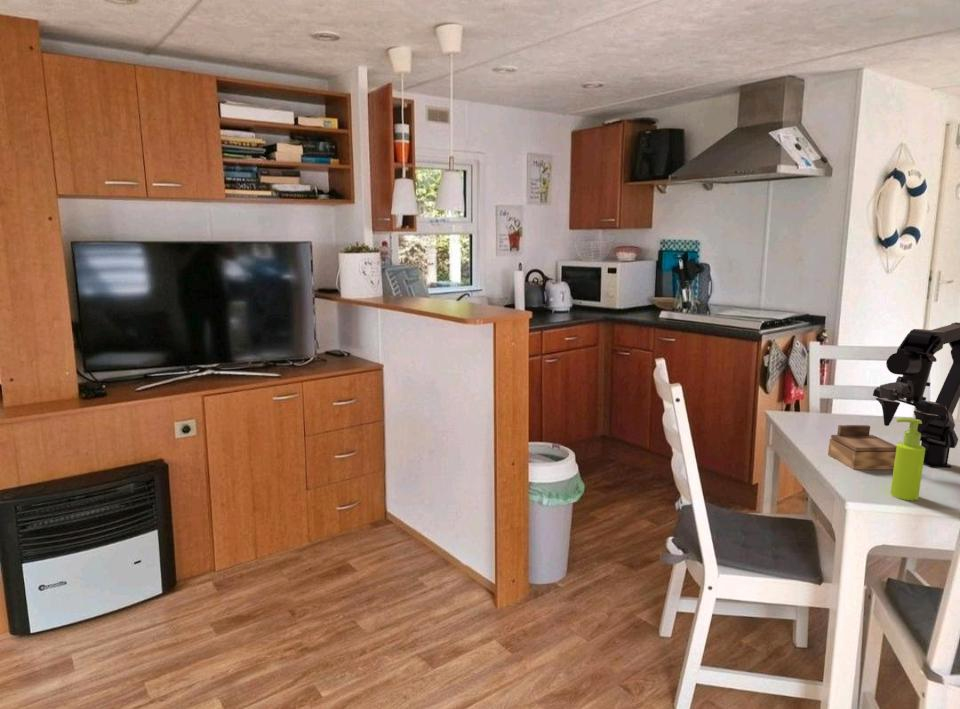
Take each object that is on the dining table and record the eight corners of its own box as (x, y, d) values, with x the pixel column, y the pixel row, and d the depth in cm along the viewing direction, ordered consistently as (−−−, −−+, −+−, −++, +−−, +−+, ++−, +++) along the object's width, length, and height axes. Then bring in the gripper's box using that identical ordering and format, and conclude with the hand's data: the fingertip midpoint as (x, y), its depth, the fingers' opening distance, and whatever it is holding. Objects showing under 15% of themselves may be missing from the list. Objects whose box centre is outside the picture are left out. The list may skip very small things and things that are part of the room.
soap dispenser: (883, 489, 166) (893, 414, 162) (914, 493, 163) (925, 417, 159) (888, 497, 160) (898, 420, 157) (921, 502, 158) (932, 423, 154)
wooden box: (869, 454, 192) (871, 438, 191) (897, 468, 181) (900, 452, 180) (827, 454, 192) (829, 438, 191) (853, 469, 180) (855, 452, 179)
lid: (871, 437, 191) (873, 424, 190) (899, 450, 180) (900, 437, 179) (831, 438, 190) (832, 425, 190) (855, 450, 179) (857, 437, 178)
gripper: (864, 364, 181) (849, 417, 183) (920, 380, 163) (903, 439, 165) (896, 369, 183) (882, 421, 186) (955, 385, 165) (938, 443, 168)
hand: (899, 430), depth 176 cm, fingers open, 9 cm apart
